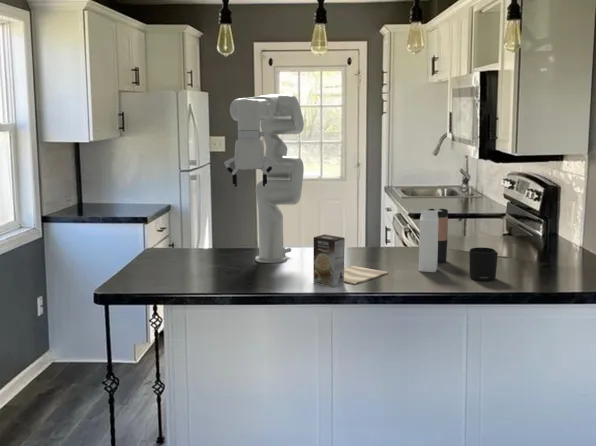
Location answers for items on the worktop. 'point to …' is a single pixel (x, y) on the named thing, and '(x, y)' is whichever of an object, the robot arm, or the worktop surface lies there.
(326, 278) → the coffee box
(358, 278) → the tan wooden board
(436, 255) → the milk
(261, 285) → the worktop surface
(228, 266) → the worktop surface
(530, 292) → the worktop surface
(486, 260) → the pen holder
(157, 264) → the worktop surface
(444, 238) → the travel mug
